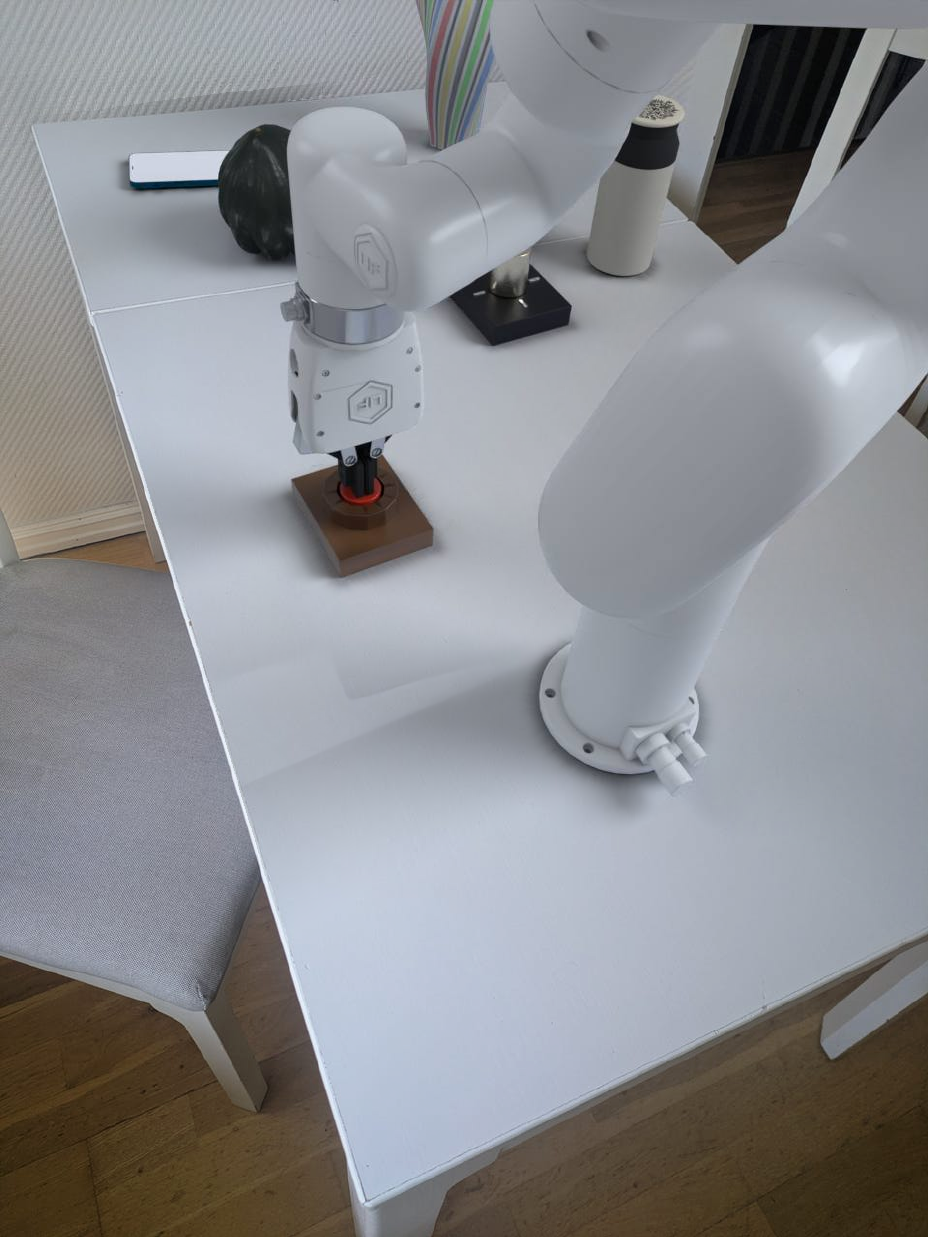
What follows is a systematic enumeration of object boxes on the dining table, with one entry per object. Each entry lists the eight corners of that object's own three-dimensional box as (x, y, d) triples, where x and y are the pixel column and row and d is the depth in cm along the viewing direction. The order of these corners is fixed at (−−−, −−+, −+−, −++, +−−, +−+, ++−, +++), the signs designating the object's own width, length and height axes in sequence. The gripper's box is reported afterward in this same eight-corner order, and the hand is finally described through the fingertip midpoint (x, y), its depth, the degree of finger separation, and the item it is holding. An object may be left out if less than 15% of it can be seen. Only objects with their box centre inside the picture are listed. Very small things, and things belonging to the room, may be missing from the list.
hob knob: (514, 272, 105) (519, 229, 100) (533, 293, 102) (539, 249, 98) (481, 280, 103) (484, 236, 99) (498, 301, 101) (503, 257, 97)
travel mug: (661, 272, 111) (700, 119, 97) (604, 282, 109) (635, 127, 95) (631, 238, 115) (664, 87, 101) (575, 247, 113) (601, 94, 99)
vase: (519, 141, 130) (547, -122, 106) (469, 177, 122) (487, -96, 99) (440, 113, 134) (450, -147, 110) (387, 147, 126) (386, -123, 102)
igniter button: (387, 508, 80) (387, 494, 79) (350, 520, 79) (350, 506, 78) (370, 482, 82) (370, 468, 81) (334, 494, 81) (333, 480, 80)
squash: (345, 158, 112) (256, 68, 101) (383, 224, 105) (291, 136, 93) (268, 239, 117) (174, 163, 105) (299, 309, 109) (202, 235, 98)
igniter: (432, 545, 81) (434, 514, 78) (340, 578, 78) (338, 547, 75) (380, 468, 87) (380, 436, 84) (292, 495, 84) (289, 464, 81)
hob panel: (568, 324, 103) (572, 304, 101) (492, 346, 100) (494, 325, 98) (515, 270, 109) (518, 249, 107) (442, 288, 106) (443, 267, 104)
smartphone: (253, 155, 122) (129, 159, 119) (252, 148, 122) (128, 152, 118) (258, 185, 118) (130, 190, 115) (258, 178, 117) (128, 183, 114)
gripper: (272, 357, 61) (294, 541, 75) (468, 307, 66) (453, 488, 80) (234, 296, 64) (262, 483, 79) (421, 253, 69) (415, 436, 84)
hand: (358, 485), depth 80 cm, fingers closed
